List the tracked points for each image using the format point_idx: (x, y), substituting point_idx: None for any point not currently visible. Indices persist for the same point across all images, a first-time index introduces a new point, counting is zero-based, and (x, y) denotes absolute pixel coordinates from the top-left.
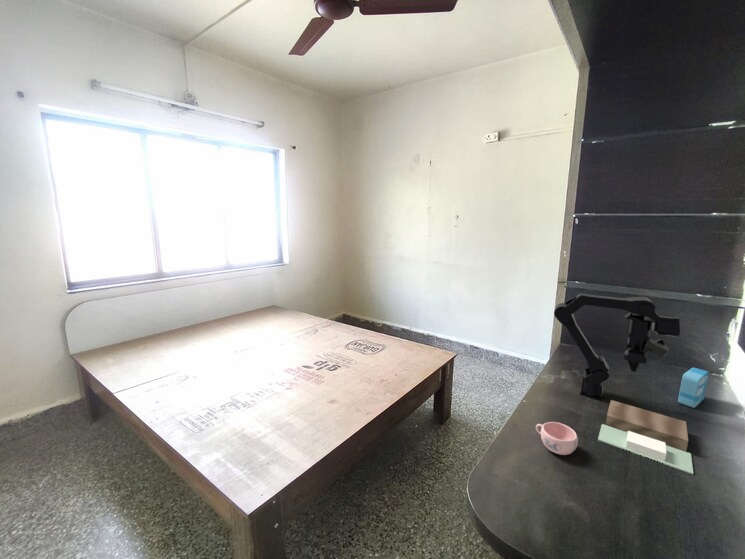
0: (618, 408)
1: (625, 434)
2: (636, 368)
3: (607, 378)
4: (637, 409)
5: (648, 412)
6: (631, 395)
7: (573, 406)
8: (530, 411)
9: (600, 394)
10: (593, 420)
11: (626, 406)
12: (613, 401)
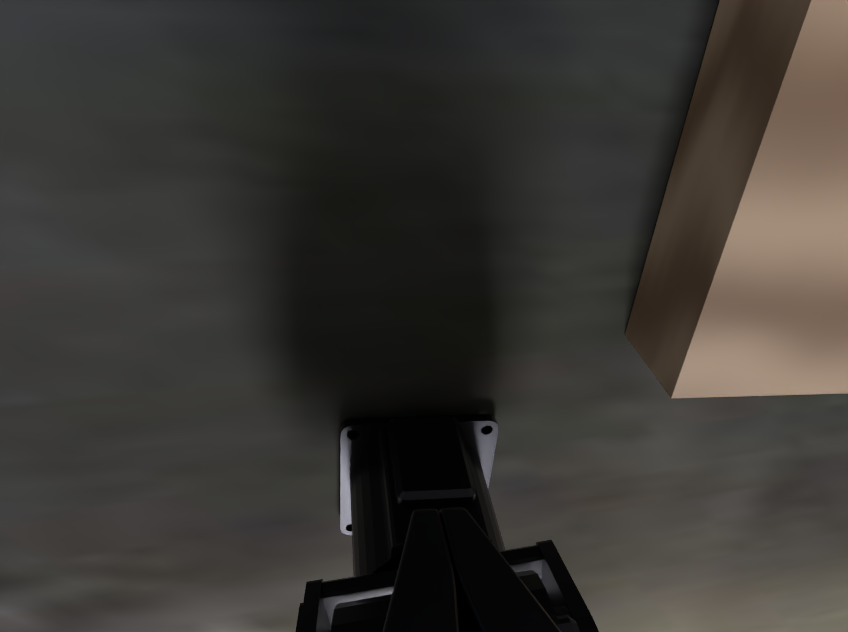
0: (826, 333)
1: None
2: (521, 588)
3: (542, 587)
4: (794, 185)
5: (827, 76)
6: (151, 191)
7: (684, 508)
8: (832, 623)
9: (461, 440)
10: (835, 396)
11: (759, 279)
12: (696, 378)
